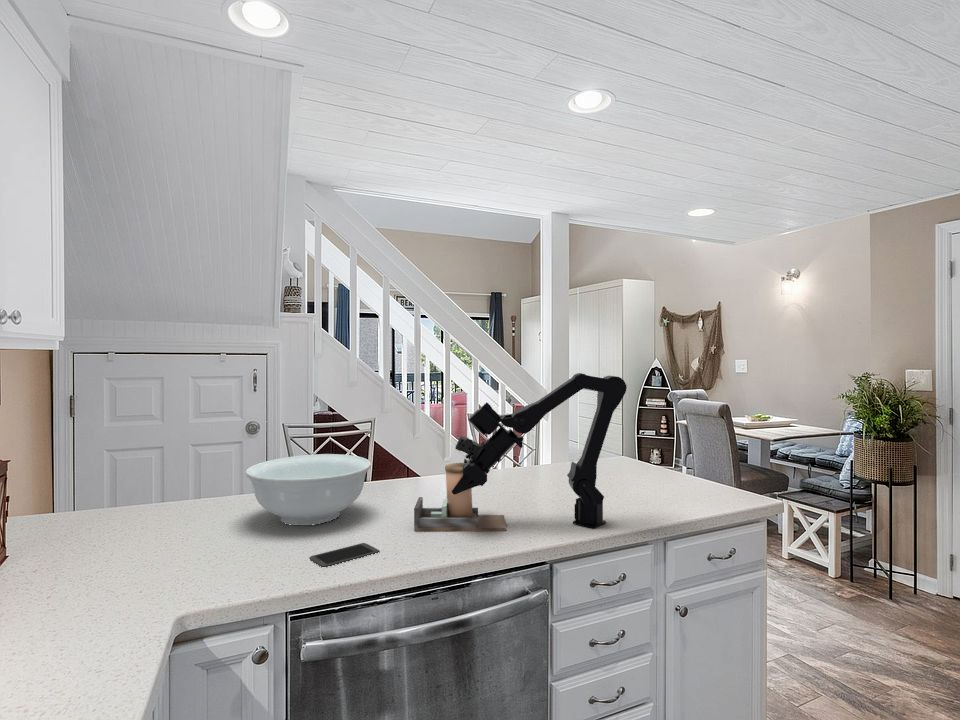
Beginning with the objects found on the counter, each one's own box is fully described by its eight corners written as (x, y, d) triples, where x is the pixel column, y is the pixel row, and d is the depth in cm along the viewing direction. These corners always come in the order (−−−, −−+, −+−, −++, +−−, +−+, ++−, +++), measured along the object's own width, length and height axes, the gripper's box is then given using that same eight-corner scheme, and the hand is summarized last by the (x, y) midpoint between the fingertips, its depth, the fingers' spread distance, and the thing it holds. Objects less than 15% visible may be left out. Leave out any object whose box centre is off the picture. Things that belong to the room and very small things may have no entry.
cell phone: (381, 553, 121) (381, 550, 121) (322, 570, 112) (322, 566, 112) (364, 545, 127) (364, 542, 127) (307, 560, 118) (307, 556, 118)
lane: (504, 517, 147) (503, 496, 147) (506, 531, 136) (505, 507, 136) (419, 518, 147) (418, 497, 147) (414, 531, 136) (414, 508, 136)
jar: (475, 511, 144) (473, 462, 144) (469, 519, 137) (467, 468, 137) (451, 511, 145) (449, 462, 145) (444, 519, 139) (441, 468, 138)
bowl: (270, 547, 125) (269, 484, 125) (231, 516, 150) (230, 463, 150) (392, 520, 145) (392, 465, 145) (340, 496, 170) (339, 450, 170)
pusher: (448, 516, 145) (448, 499, 145) (446, 524, 138) (446, 506, 138) (432, 516, 145) (432, 499, 145) (429, 524, 138) (429, 506, 137)
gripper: (473, 421, 150) (434, 461, 150) (473, 430, 132) (428, 476, 132) (502, 449, 150) (462, 489, 150) (505, 462, 132) (460, 508, 132)
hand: (453, 489), depth 141 cm, fingers closed on jar, 6 cm apart
